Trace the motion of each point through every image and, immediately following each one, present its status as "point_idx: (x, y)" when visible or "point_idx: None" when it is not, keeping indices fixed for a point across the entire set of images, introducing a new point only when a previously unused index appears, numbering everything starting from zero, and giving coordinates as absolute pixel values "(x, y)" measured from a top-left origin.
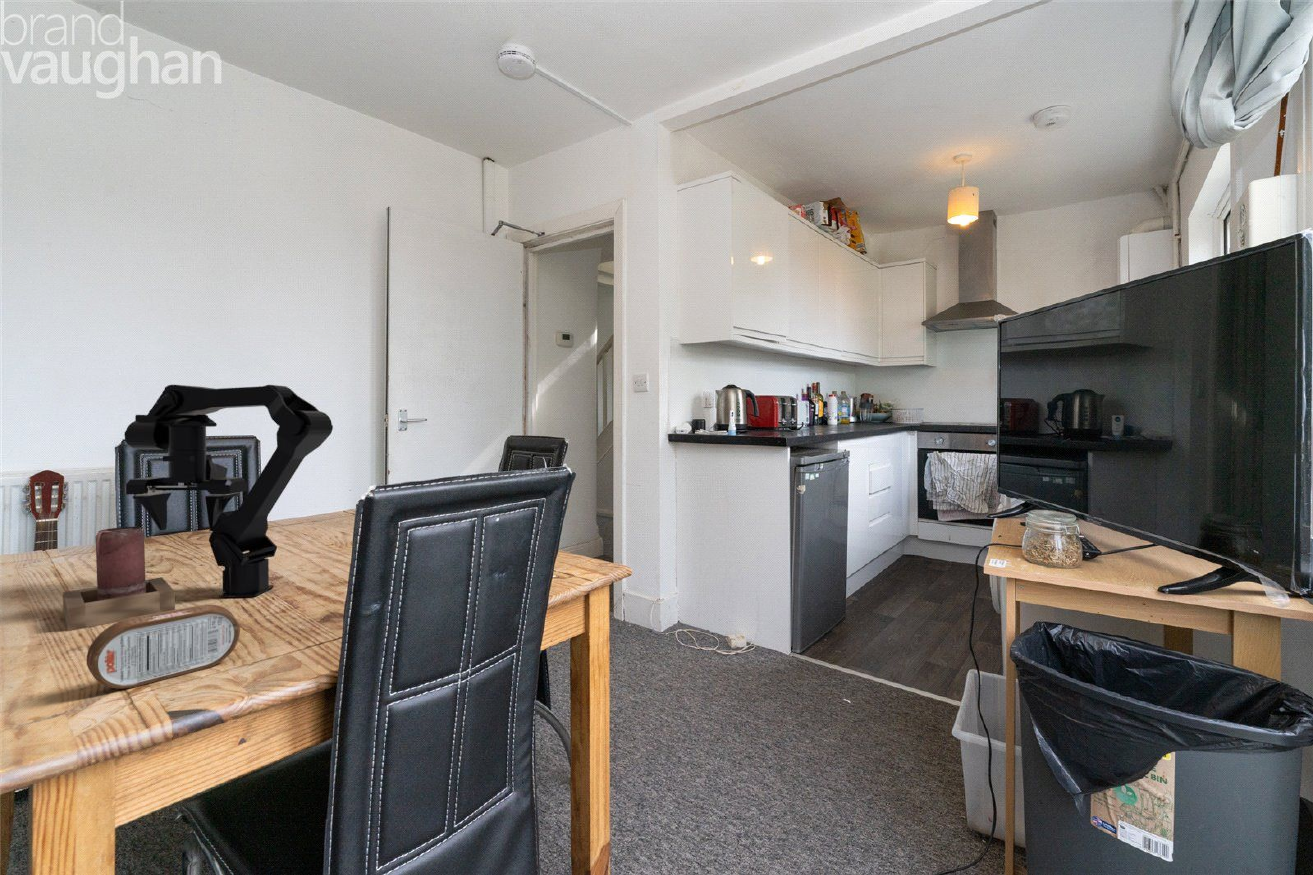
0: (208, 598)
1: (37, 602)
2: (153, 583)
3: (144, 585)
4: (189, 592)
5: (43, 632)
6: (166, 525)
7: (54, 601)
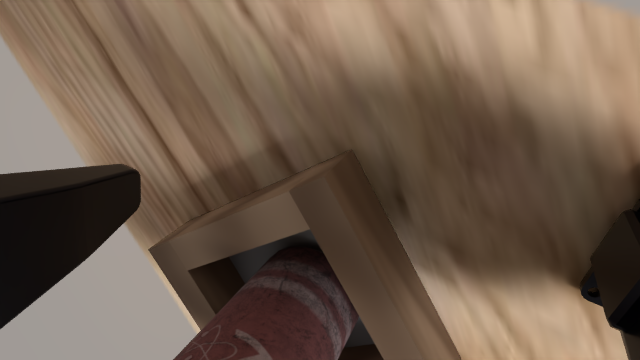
0: (535, 264)
1: (67, 83)
2: (337, 267)
3: (338, 341)
4: (433, 136)
5: None
6: (112, 179)
7: (96, 88)
